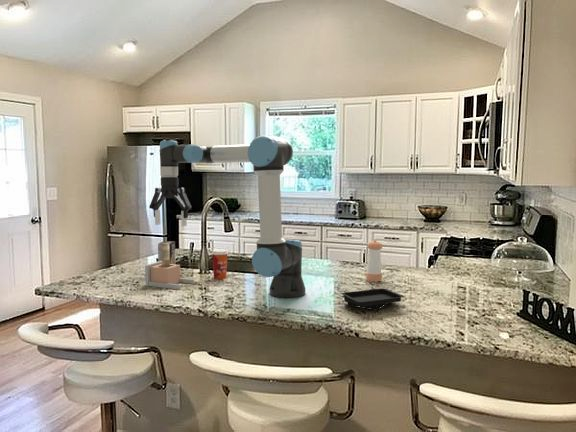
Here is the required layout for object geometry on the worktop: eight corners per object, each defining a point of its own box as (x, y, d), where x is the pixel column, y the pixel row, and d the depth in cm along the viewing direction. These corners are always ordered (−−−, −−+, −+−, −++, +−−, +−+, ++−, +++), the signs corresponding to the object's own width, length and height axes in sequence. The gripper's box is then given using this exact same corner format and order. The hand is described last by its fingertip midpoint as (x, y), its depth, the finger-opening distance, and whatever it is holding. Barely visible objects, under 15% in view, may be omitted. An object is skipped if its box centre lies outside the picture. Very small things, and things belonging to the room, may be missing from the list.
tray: (353, 293, 201) (353, 281, 200) (409, 299, 192) (409, 286, 191) (333, 312, 173) (333, 299, 172) (397, 321, 164) (398, 306, 164)
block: (180, 282, 211) (180, 264, 211) (168, 287, 203) (167, 268, 202) (163, 280, 215) (163, 263, 214) (151, 285, 206) (150, 267, 206)
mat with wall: (206, 281, 218) (205, 260, 217) (181, 292, 199) (180, 268, 198) (171, 278, 225) (171, 257, 224) (144, 287, 206) (143, 265, 205)
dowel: (171, 274, 210) (170, 243, 208) (166, 275, 206) (166, 244, 205) (164, 273, 211) (164, 242, 209) (160, 275, 208) (159, 243, 206)
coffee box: (171, 277, 227) (170, 243, 225) (158, 276, 227) (157, 243, 225) (176, 272, 236) (175, 240, 234) (163, 272, 236) (162, 240, 234)
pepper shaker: (380, 278, 227) (382, 239, 225) (382, 282, 219) (383, 241, 217) (365, 278, 227) (366, 238, 225) (366, 281, 220) (367, 241, 218)
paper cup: (219, 282, 216) (219, 252, 215) (208, 280, 221) (208, 250, 220) (231, 279, 222) (231, 250, 221) (220, 277, 227) (220, 248, 226)
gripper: (199, 176, 204) (200, 225, 206) (151, 176, 213) (152, 223, 215) (189, 176, 197) (190, 227, 199) (140, 176, 206) (141, 225, 208)
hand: (170, 225), depth 207 cm, fingers open, 13 cm apart
